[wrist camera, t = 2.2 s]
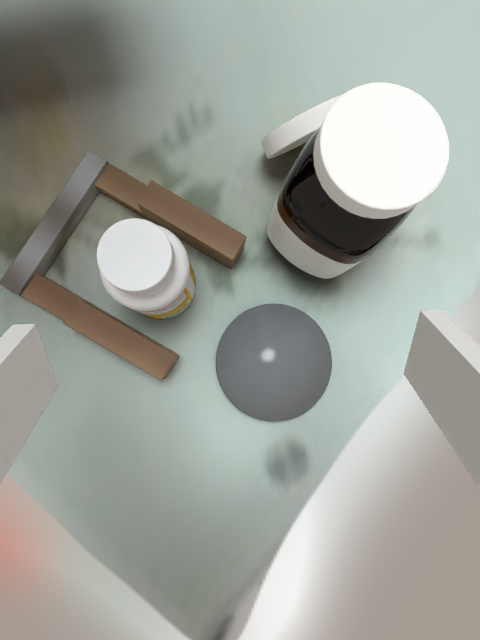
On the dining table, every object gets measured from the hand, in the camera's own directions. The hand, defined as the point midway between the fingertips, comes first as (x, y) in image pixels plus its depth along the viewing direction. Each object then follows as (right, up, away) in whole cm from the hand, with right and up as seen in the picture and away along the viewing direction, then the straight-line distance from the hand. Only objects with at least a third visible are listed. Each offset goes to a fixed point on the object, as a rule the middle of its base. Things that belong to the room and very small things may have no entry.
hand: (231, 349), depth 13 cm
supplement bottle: (-6, +4, +16) cm, 18 cm away
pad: (+3, -2, +16) cm, 16 cm away
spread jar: (+6, +11, +18) cm, 22 cm away
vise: (-8, +5, +16) cm, 19 cm away
